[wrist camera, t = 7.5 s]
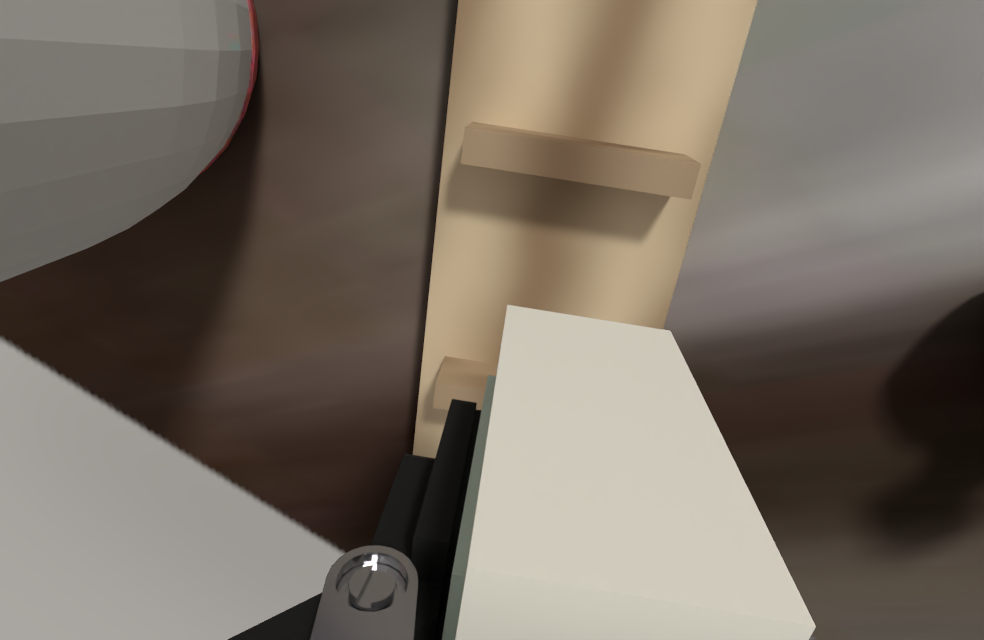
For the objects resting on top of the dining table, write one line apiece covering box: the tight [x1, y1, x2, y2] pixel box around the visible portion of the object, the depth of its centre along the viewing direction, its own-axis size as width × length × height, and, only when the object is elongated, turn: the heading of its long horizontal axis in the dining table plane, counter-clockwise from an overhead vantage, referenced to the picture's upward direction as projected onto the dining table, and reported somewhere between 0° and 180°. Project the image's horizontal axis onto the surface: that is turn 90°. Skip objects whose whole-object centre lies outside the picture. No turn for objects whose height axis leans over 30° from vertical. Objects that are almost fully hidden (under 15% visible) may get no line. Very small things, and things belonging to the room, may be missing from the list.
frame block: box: [442, 305, 816, 640], centre depth 10 cm, size 3×7×6 cm, turn 172°
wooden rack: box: [413, 0, 758, 458], centre depth 24 cm, size 10×30×4 cm, turn 172°
